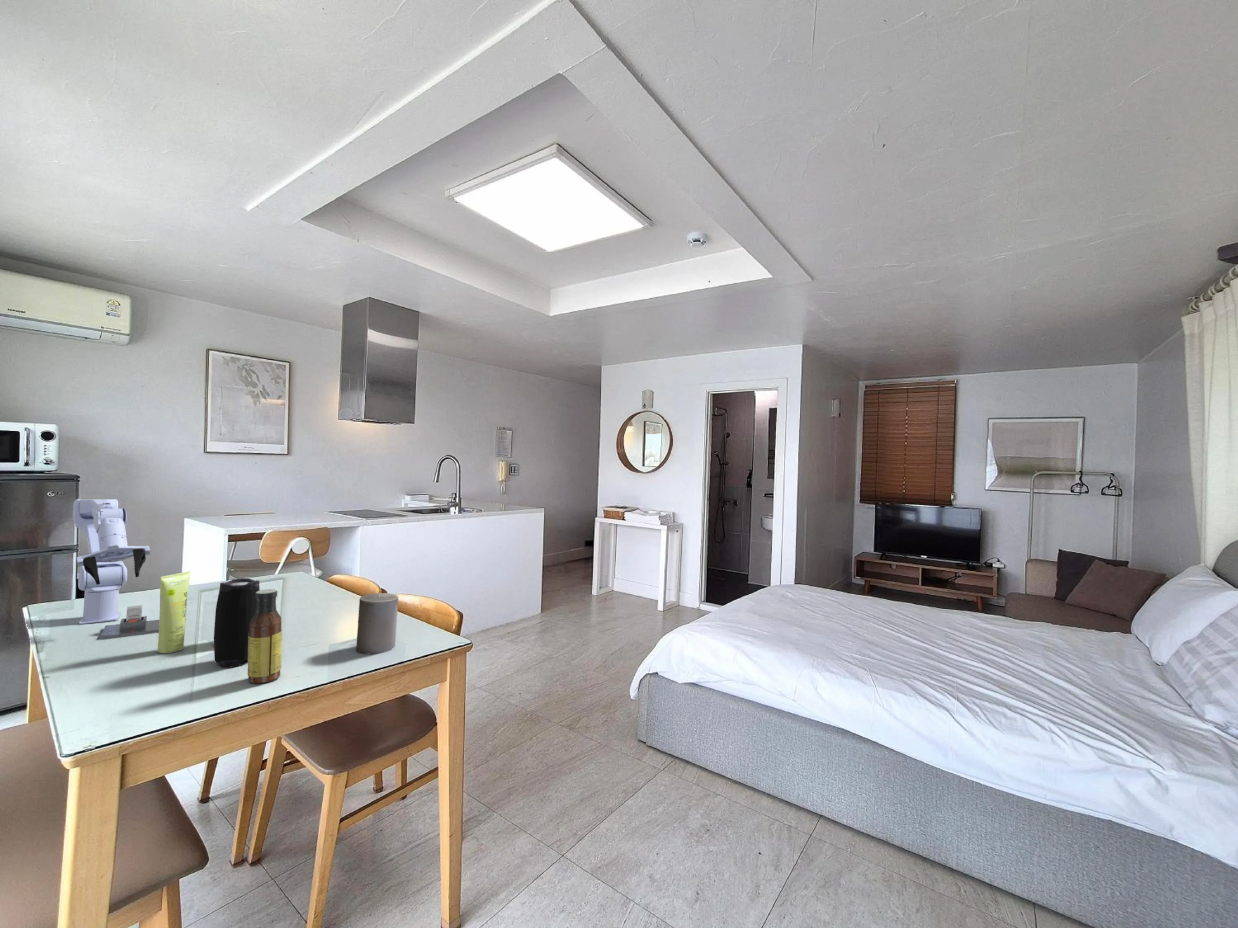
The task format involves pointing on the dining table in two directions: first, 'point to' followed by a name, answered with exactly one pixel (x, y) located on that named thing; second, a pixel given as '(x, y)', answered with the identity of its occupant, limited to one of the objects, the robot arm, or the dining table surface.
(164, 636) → the tube
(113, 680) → the dining table surface
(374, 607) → the pillar candle
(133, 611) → the column
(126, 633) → the grey slotted base
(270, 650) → the sauce bottle
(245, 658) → the portable speaker
